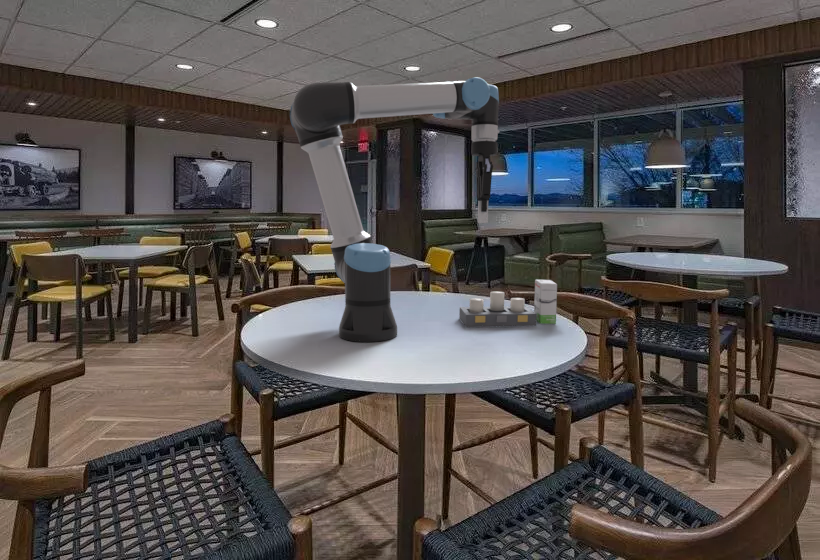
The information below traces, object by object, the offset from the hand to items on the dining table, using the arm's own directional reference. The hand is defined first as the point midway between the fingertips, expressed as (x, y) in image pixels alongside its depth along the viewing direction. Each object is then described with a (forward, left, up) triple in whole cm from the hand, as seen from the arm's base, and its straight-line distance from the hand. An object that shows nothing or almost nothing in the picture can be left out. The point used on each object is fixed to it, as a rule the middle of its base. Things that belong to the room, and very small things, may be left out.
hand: (482, 222), depth 154 cm
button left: (-3, -8, -27) cm, 28 cm away
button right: (+9, -8, -27) cm, 29 cm away
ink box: (+17, -7, -29) cm, 34 cm away
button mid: (+3, -8, -25) cm, 26 cm away
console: (+3, -8, -28) cm, 30 cm away
